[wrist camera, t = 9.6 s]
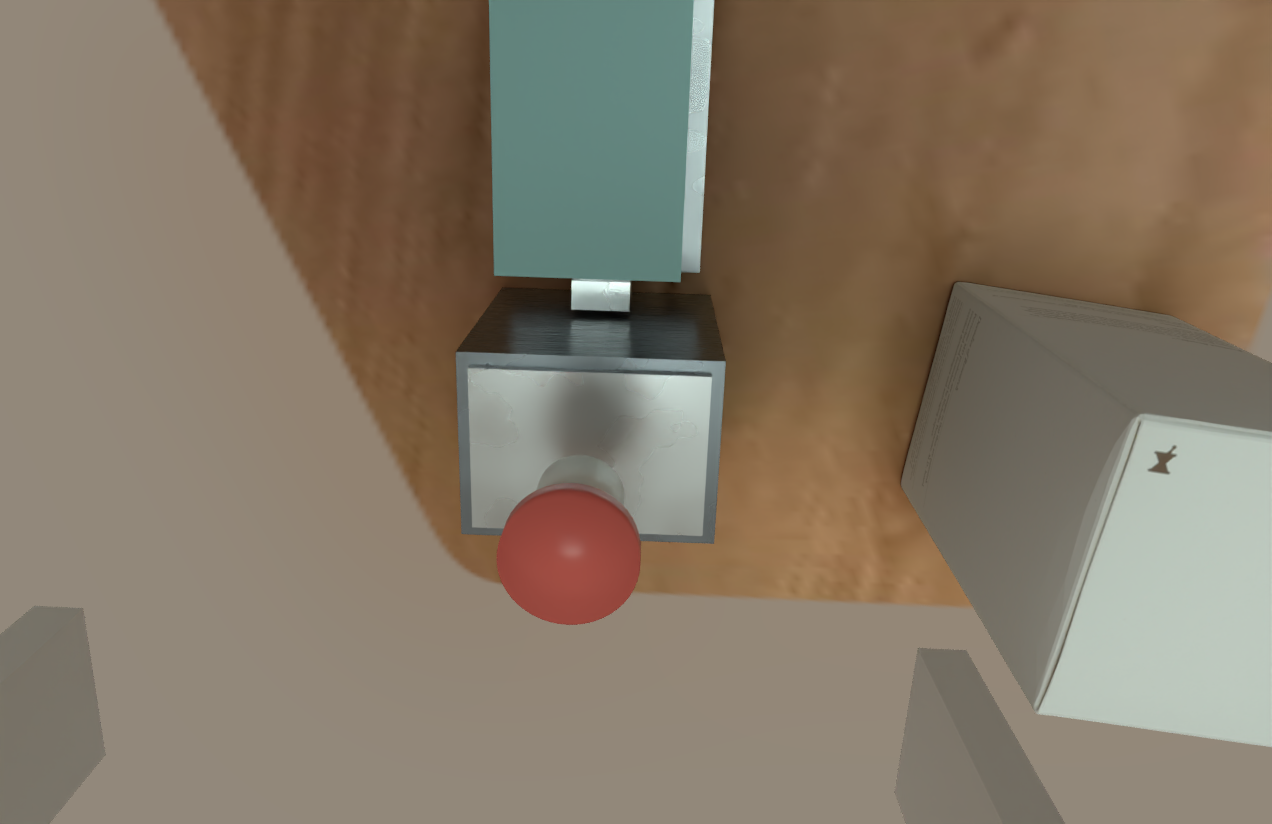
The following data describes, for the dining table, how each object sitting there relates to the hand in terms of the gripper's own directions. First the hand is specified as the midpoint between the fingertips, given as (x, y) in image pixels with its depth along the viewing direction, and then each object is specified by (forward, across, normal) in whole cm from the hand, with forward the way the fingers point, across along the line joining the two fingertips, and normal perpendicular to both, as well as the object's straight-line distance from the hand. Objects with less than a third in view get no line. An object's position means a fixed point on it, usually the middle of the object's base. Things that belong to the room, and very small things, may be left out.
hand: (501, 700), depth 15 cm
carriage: (+23, 0, +8) cm, 25 cm away
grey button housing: (+24, +1, -1) cm, 24 cm away
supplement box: (+24, +18, -2) cm, 30 cm away
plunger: (+11, +1, -1) cm, 11 cm away
